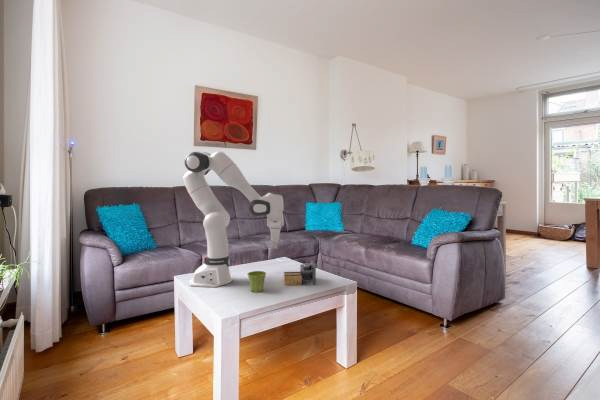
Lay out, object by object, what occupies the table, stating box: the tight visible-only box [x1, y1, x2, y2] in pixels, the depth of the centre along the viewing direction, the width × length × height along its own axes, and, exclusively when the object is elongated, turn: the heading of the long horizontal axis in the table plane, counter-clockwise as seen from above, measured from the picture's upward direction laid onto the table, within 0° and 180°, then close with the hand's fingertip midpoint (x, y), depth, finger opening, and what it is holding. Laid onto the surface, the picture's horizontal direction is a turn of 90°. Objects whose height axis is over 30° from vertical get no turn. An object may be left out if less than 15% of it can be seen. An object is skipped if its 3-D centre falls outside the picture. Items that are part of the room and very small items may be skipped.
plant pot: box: [246, 270, 267, 293], centre depth 163 cm, size 9×9×9 cm
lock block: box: [283, 271, 303, 286], centre depth 175 cm, size 9×8×5 cm
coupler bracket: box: [299, 260, 317, 286], centre depth 176 cm, size 7×12×10 cm, turn 4°
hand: (275, 248), depth 173 cm, fingers closed
